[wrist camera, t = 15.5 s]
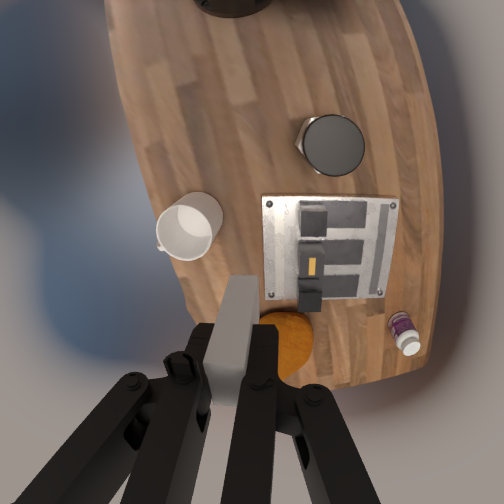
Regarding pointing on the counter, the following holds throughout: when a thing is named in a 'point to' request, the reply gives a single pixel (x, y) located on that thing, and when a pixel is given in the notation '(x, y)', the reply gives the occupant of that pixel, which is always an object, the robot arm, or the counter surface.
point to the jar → (331, 144)
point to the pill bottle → (404, 333)
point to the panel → (328, 245)
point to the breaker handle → (311, 260)
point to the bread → (291, 340)
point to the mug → (189, 226)
